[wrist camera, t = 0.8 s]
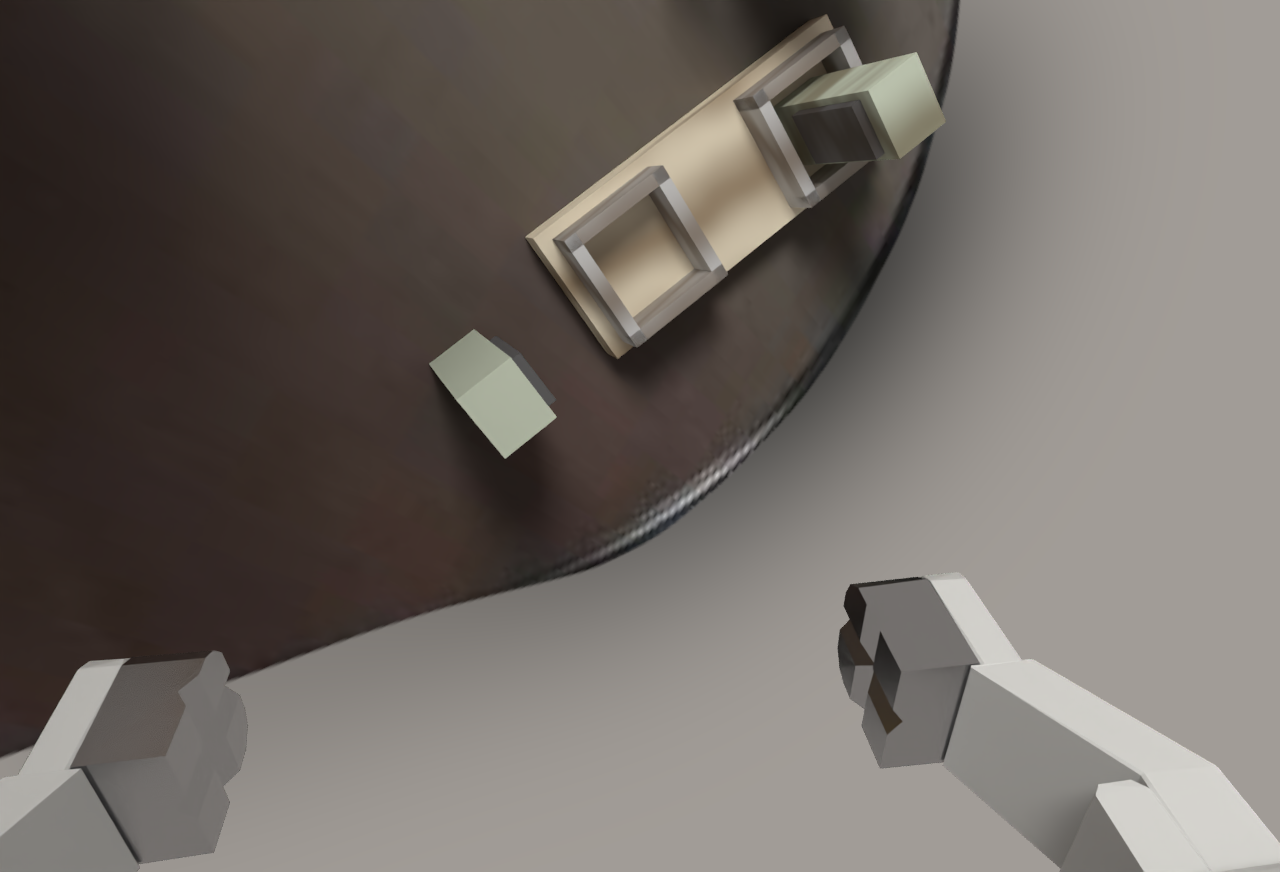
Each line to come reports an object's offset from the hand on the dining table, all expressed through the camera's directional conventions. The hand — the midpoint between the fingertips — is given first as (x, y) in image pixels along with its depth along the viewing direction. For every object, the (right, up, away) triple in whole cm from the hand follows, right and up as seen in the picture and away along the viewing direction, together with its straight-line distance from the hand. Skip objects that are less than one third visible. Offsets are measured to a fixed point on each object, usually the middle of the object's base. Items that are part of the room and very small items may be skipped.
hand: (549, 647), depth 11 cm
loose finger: (-9, +7, +40) cm, 42 cm away
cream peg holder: (+6, +19, +43) cm, 47 cm away
